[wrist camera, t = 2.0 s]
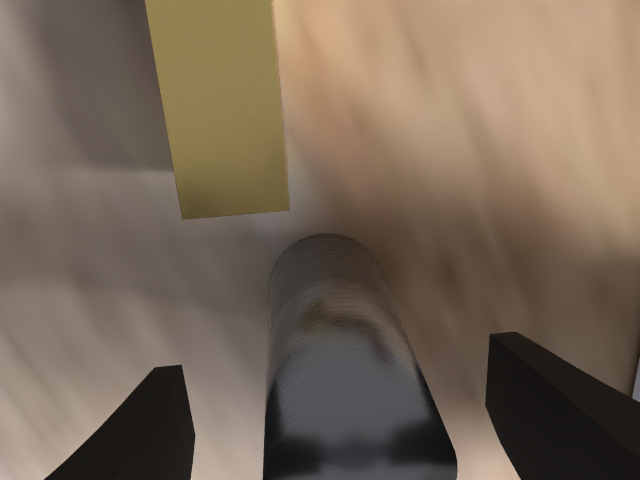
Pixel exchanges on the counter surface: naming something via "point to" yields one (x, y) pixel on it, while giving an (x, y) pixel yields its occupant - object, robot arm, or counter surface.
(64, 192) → the counter surface
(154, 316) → the counter surface
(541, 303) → the counter surface
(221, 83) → the khaki rectangular plank
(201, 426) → the counter surface
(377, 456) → the peg
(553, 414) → the robot arm
